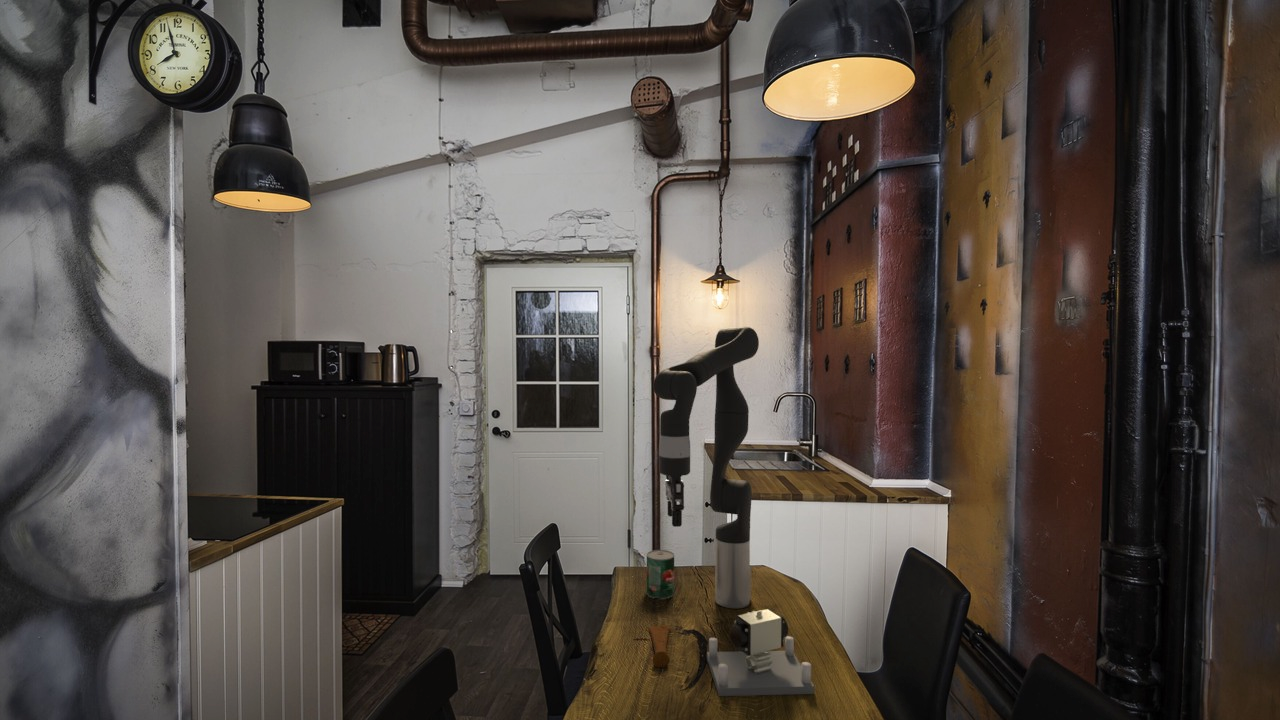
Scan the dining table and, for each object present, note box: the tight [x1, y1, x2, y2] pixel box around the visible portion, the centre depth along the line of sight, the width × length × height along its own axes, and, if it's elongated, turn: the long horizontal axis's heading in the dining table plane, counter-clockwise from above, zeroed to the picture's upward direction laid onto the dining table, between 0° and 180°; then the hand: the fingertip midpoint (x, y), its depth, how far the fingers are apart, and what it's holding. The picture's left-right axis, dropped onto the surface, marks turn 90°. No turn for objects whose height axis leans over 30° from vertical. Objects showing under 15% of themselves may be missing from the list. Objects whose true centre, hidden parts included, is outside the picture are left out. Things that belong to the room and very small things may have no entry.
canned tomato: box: [645, 549, 675, 600], centre depth 162 cm, size 8×8×11 cm
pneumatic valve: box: [729, 608, 789, 674], centre depth 120 cm, size 6×12×12 cm, turn 115°
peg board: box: [706, 635, 815, 697], centre depth 120 cm, size 19×14×5 cm
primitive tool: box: [647, 624, 672, 668], centre depth 132 cm, size 19×6×4 cm, turn 2°
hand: (674, 520), depth 138 cm, fingers open, 8 cm apart
